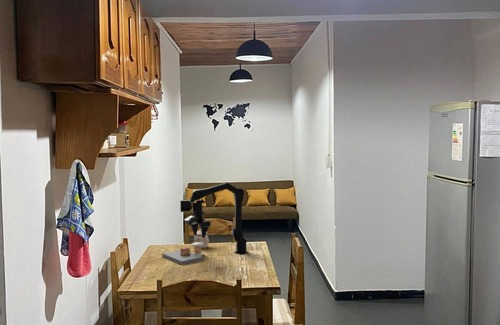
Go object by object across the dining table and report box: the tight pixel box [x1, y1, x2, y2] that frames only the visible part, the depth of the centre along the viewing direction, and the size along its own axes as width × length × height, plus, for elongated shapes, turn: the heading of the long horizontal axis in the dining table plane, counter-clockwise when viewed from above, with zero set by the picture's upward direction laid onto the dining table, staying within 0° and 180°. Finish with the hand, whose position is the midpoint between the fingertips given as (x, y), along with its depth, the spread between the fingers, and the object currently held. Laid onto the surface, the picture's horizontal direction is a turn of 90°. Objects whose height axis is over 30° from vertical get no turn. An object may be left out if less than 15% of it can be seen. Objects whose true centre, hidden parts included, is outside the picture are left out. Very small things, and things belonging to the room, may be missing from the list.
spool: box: [191, 242, 205, 257], centre depth 282 cm, size 7×7×7 cm
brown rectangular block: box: [180, 246, 191, 256], centre depth 276 cm, size 3×4×6 cm, turn 125°
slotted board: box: [161, 249, 204, 266], centre depth 275 cm, size 24×14×2 cm, turn 37°
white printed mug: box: [193, 228, 210, 249], centre depth 302 cm, size 12×9×12 cm
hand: (199, 236), depth 281 cm, fingers open, 9 cm apart
